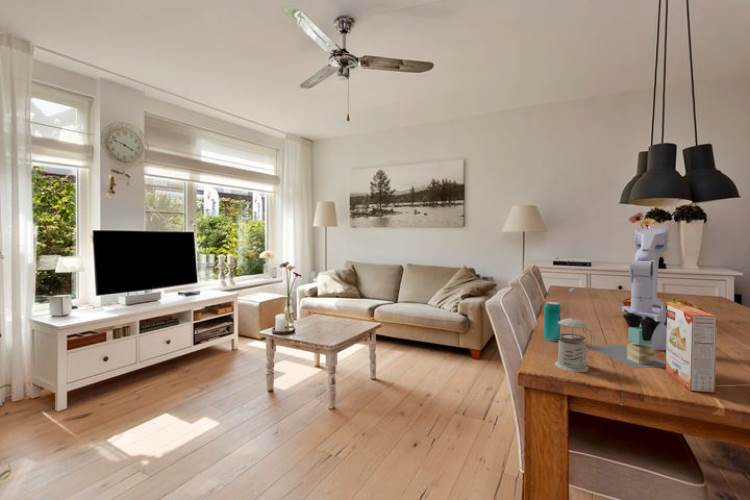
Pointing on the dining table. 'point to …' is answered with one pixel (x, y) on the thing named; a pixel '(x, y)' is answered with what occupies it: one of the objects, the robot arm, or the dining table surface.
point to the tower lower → (640, 358)
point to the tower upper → (640, 350)
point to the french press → (572, 346)
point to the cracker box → (691, 347)
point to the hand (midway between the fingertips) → (640, 338)
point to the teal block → (637, 336)
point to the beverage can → (552, 321)
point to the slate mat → (625, 356)
